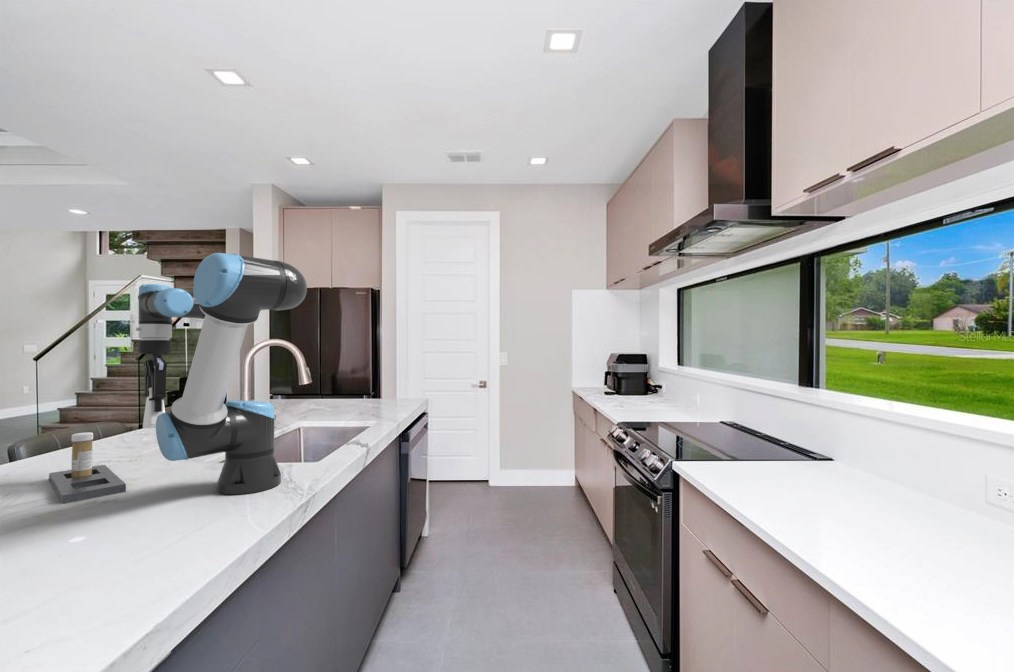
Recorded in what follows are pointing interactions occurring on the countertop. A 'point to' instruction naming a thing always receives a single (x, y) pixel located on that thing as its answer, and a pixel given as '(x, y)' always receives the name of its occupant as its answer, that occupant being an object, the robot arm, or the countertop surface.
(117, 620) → the countertop surface
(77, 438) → the sprinkles bottle
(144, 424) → the pepper shaker
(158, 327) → the robot arm
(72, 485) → the bolt plate
